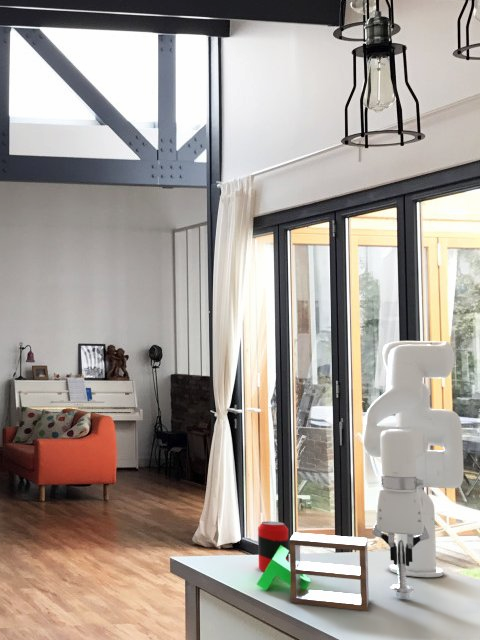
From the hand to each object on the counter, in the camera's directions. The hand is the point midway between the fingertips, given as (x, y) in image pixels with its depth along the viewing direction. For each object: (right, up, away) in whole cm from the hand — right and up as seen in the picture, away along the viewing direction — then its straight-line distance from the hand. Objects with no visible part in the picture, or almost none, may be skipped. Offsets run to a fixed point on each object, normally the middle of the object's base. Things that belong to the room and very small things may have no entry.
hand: (401, 563), depth 234 cm
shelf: (-18, -7, -4) cm, 20 cm away
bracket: (-22, -9, +14) cm, 28 cm away
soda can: (-21, -11, +29) cm, 38 cm away
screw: (0, -8, -1) cm, 8 cm away
